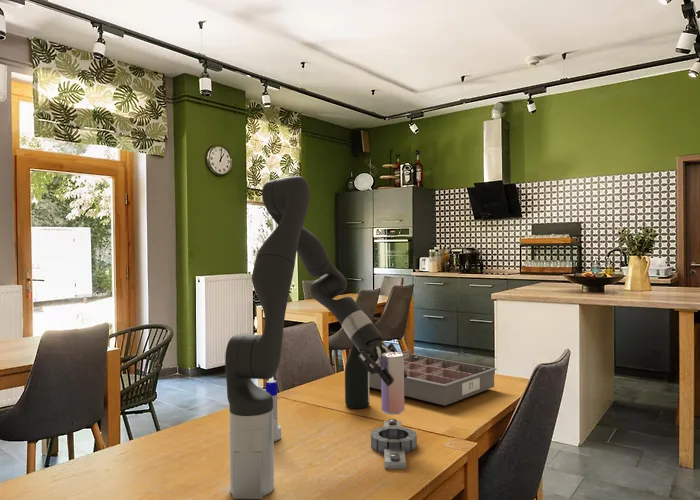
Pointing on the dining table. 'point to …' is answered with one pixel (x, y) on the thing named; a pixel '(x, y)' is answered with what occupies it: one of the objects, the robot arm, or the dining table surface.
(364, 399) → the wine bottle
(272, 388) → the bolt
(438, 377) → the organizer tray
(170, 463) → the dining table surface
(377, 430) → the pipe clamp bracket
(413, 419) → the dining table surface
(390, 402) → the beverage can
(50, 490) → the dining table surface
